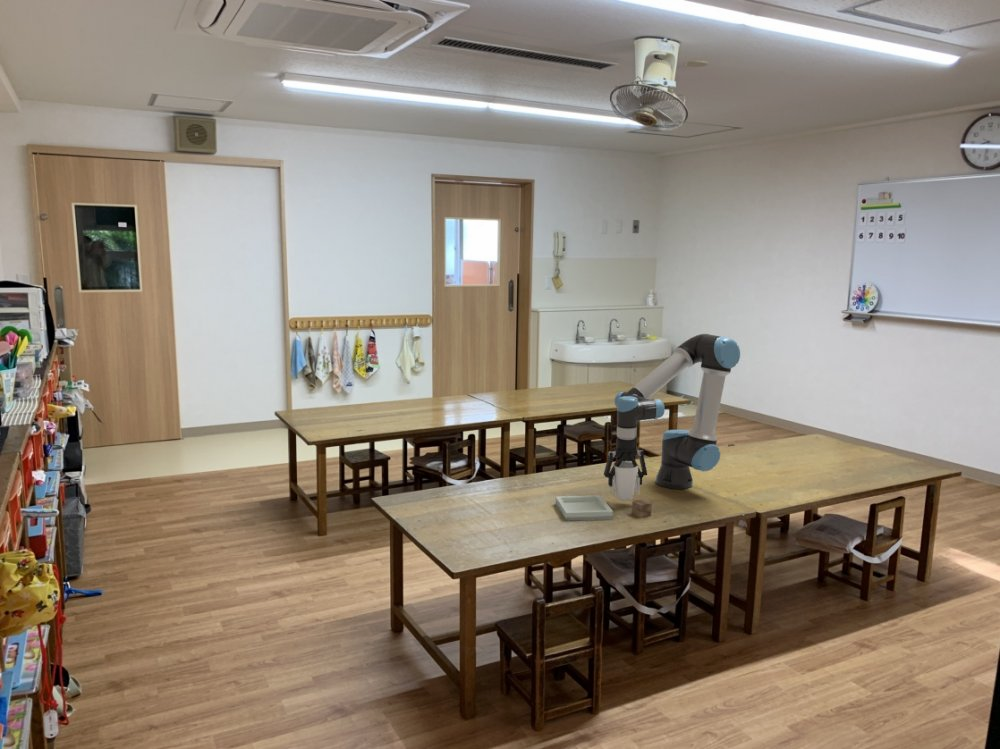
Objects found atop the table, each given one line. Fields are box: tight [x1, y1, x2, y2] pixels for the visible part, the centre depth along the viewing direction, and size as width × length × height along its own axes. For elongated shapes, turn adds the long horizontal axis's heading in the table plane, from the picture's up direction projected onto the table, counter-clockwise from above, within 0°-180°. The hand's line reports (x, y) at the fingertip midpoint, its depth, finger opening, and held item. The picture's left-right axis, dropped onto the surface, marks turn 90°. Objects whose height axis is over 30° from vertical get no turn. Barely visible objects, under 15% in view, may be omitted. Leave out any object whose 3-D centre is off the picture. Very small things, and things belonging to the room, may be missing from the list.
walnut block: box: [631, 498, 653, 519], centre depth 277 cm, size 5×5×5 cm
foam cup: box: [612, 461, 639, 501], centre depth 285 cm, size 10×9×13 cm
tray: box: [554, 494, 614, 522], centre depth 279 cm, size 18×18×3 cm
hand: (624, 493), depth 286 cm, fingers closed on foam cup, 9 cm apart
